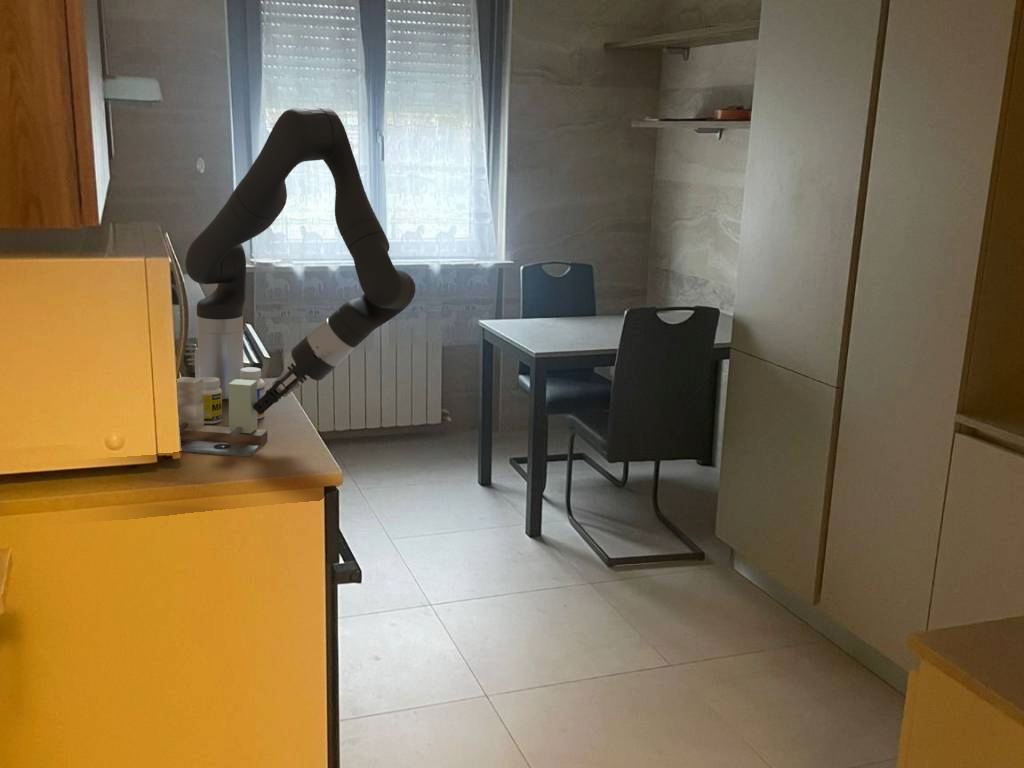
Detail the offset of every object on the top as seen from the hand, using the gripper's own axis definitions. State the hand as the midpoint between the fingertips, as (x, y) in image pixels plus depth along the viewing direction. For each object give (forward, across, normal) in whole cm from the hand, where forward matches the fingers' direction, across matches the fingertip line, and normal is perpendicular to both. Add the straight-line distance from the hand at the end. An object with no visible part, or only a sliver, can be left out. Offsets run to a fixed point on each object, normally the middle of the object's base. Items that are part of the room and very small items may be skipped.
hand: (257, 409), depth 175 cm
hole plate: (+9, +6, 0) cm, 11 cm away
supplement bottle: (+14, -11, -5) cm, 18 cm away
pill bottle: (+9, -16, 0) cm, 18 cm away
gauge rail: (+9, +3, 0) cm, 10 cm away
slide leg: (+5, +2, +1) cm, 5 cm away
